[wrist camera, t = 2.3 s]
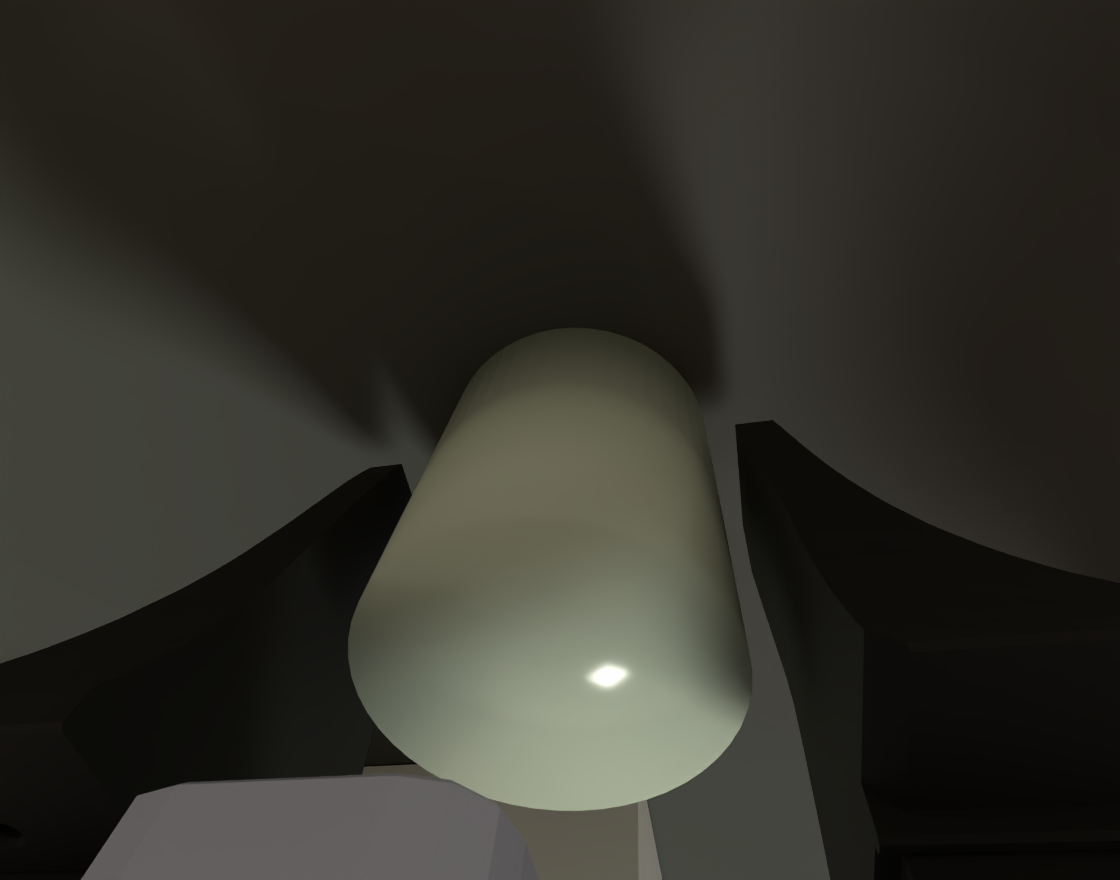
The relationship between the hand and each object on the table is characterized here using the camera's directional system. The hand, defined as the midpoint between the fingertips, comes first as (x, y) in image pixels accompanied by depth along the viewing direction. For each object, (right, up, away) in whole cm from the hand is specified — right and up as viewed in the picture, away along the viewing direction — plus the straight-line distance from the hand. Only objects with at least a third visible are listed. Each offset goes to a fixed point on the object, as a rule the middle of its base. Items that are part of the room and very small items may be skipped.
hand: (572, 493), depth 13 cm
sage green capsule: (0, +1, +1) cm, 2 cm away
